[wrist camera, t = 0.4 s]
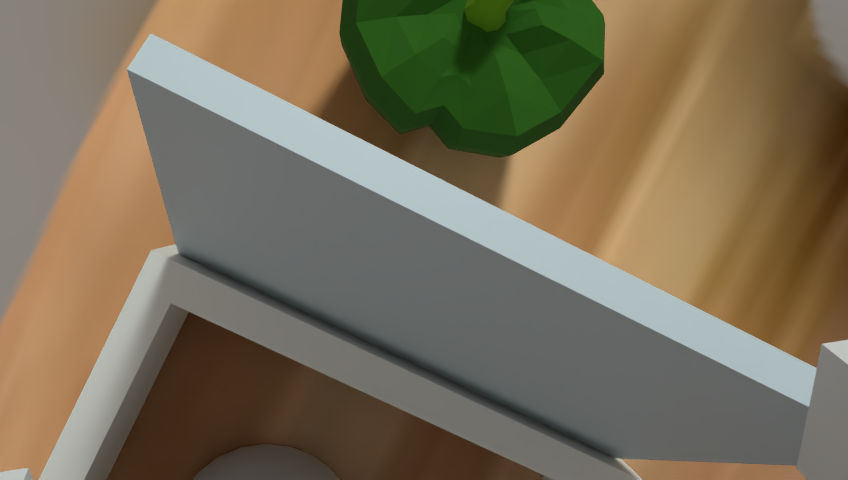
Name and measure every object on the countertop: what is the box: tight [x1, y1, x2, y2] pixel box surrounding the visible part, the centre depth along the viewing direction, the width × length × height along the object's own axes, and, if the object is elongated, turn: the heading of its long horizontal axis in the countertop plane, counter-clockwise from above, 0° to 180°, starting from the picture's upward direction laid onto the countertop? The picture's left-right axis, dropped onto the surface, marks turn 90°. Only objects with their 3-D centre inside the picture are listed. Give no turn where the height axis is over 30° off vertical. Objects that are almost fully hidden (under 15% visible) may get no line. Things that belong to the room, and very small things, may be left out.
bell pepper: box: [340, 0, 605, 157], centre depth 24 cm, size 8×8×10 cm
